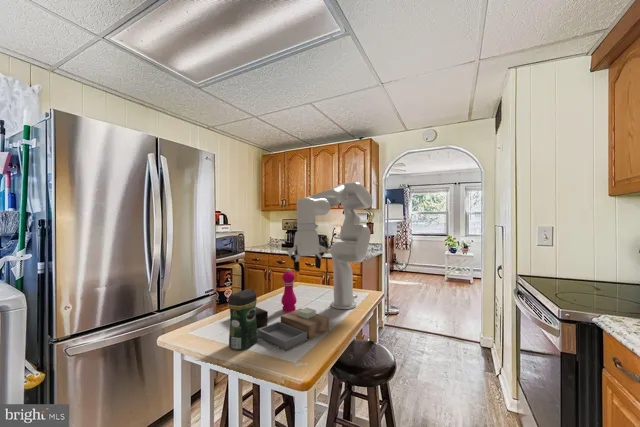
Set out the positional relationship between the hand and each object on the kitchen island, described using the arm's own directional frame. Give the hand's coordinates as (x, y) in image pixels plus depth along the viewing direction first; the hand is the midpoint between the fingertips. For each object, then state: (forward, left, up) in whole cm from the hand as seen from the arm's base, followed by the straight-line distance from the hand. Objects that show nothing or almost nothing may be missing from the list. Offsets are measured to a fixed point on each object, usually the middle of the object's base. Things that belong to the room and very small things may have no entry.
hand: (307, 269), depth 110 cm
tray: (+16, +2, -23) cm, 28 cm away
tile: (+3, +2, -18) cm, 18 cm away
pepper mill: (-7, -20, -23) cm, 31 cm away
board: (+4, +2, -23) cm, 23 cm away
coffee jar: (+27, -5, -23) cm, 36 cm away
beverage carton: (+14, -22, -23) cm, 35 cm away
